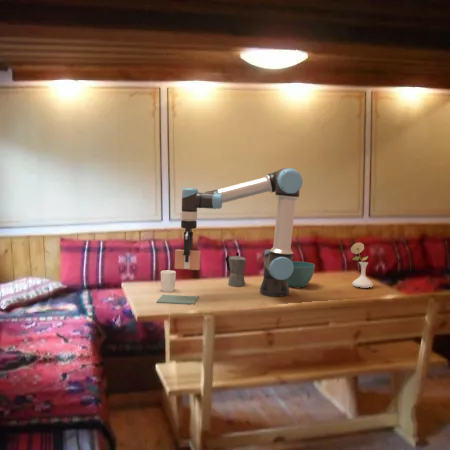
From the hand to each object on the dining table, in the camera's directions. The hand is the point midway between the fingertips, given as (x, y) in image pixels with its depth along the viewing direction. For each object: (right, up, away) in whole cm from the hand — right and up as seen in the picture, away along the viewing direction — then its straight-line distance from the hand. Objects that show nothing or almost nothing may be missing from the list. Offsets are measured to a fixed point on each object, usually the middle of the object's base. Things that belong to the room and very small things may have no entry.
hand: (187, 268), depth 292 cm
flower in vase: (+94, -14, +39) cm, 102 cm away
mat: (-4, -15, -2) cm, 16 cm away
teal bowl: (+58, -13, +38) cm, 71 cm away
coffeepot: (+24, -12, +37) cm, 46 cm away
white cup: (-11, -13, +19) cm, 26 cm away
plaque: (0, 0, 0) cm, 1 cm away
